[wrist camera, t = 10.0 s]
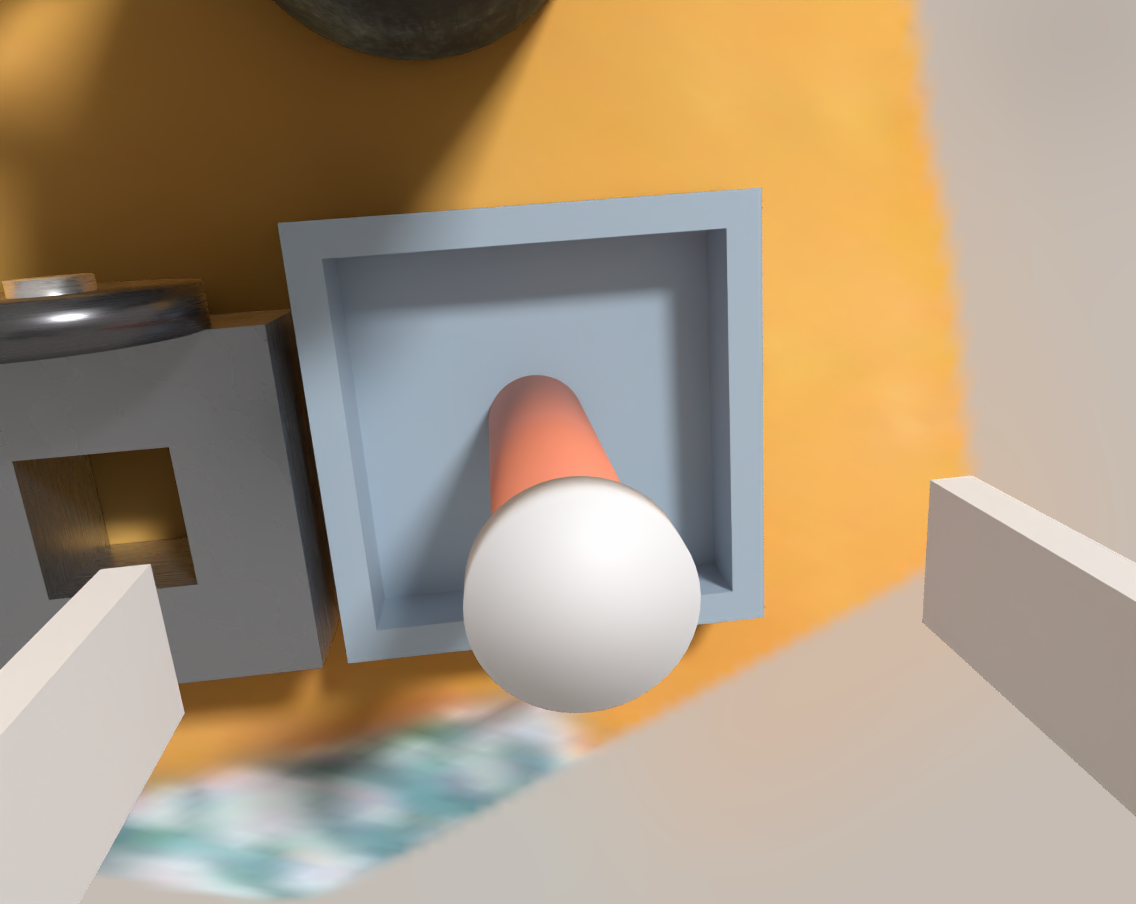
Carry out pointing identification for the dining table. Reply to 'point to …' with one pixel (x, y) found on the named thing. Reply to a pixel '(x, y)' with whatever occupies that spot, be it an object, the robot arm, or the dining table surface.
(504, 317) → the tray
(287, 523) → the block
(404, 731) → the dining table surface
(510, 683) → the pin
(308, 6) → the mug
